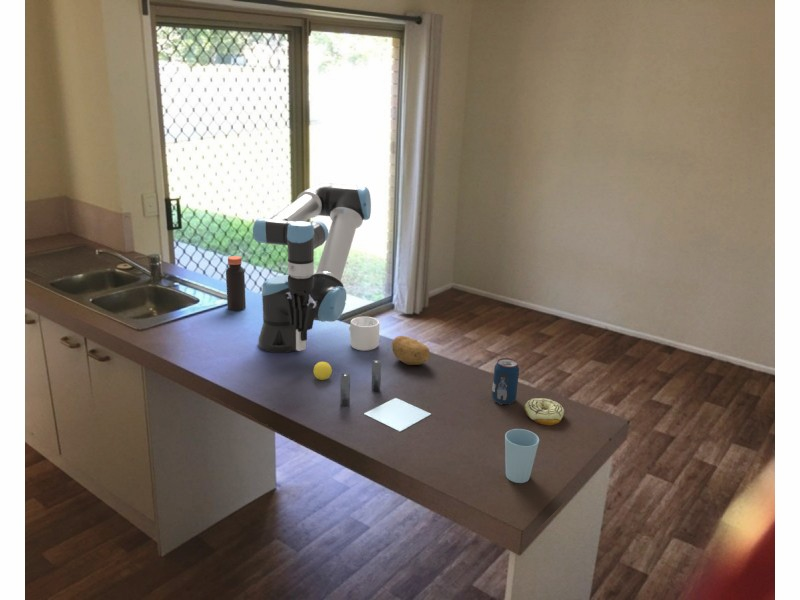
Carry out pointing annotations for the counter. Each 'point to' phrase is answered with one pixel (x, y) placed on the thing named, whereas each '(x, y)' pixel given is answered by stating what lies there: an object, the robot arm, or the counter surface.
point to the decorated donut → (544, 411)
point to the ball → (322, 370)
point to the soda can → (505, 381)
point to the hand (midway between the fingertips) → (301, 349)
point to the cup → (520, 454)
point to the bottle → (235, 284)
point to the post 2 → (376, 375)
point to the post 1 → (345, 390)
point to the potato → (410, 350)
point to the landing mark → (397, 414)
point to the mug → (364, 333)
